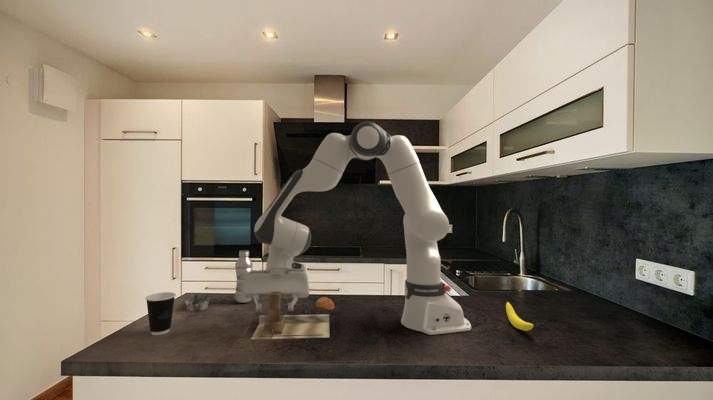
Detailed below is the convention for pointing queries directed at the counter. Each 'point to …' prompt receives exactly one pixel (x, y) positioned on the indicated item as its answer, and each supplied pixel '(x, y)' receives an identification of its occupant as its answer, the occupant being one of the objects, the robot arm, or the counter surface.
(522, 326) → the banana
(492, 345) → the counter surface
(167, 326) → the dixie cup
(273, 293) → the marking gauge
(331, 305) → the pastry
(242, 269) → the plastic bottle
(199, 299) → the egg carton
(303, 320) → the birch board
